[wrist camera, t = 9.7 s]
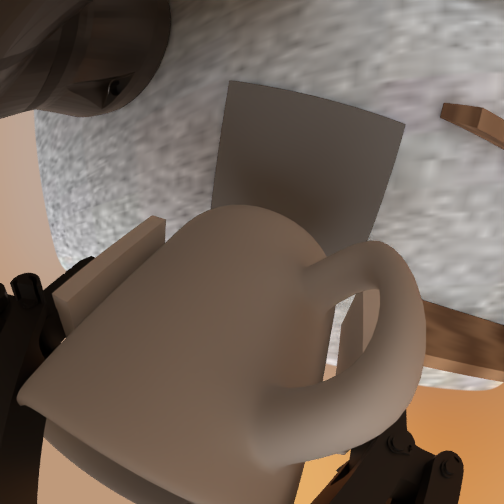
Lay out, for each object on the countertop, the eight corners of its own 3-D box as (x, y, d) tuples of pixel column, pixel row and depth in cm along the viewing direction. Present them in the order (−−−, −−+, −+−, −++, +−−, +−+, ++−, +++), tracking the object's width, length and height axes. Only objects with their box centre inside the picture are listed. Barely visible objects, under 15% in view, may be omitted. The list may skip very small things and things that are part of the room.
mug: (242, 361, 18) (167, 521, 9) (146, 258, 16) (4, 401, 7) (432, 280, 12) (470, 533, 3) (329, 113, 10) (174, 246, 1)
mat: (207, 249, 28) (206, 251, 28) (231, 80, 20) (229, 80, 20) (345, 291, 26) (345, 294, 26) (404, 124, 18) (405, 124, 18)
